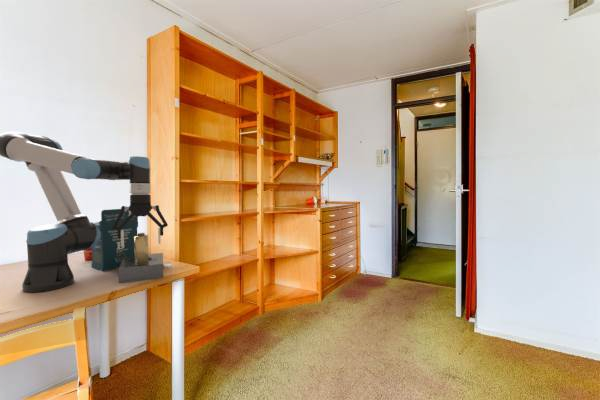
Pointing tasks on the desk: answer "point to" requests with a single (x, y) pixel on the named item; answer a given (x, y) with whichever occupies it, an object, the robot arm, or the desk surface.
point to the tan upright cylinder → (141, 249)
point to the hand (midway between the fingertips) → (141, 244)
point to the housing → (141, 269)
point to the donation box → (113, 240)
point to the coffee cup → (88, 254)
